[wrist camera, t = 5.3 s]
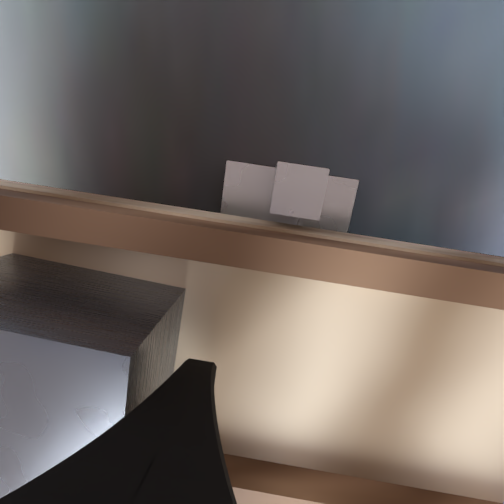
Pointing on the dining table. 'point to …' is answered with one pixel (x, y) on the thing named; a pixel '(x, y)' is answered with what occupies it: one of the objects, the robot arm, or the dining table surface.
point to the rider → (75, 357)
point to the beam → (310, 343)
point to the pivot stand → (289, 195)
